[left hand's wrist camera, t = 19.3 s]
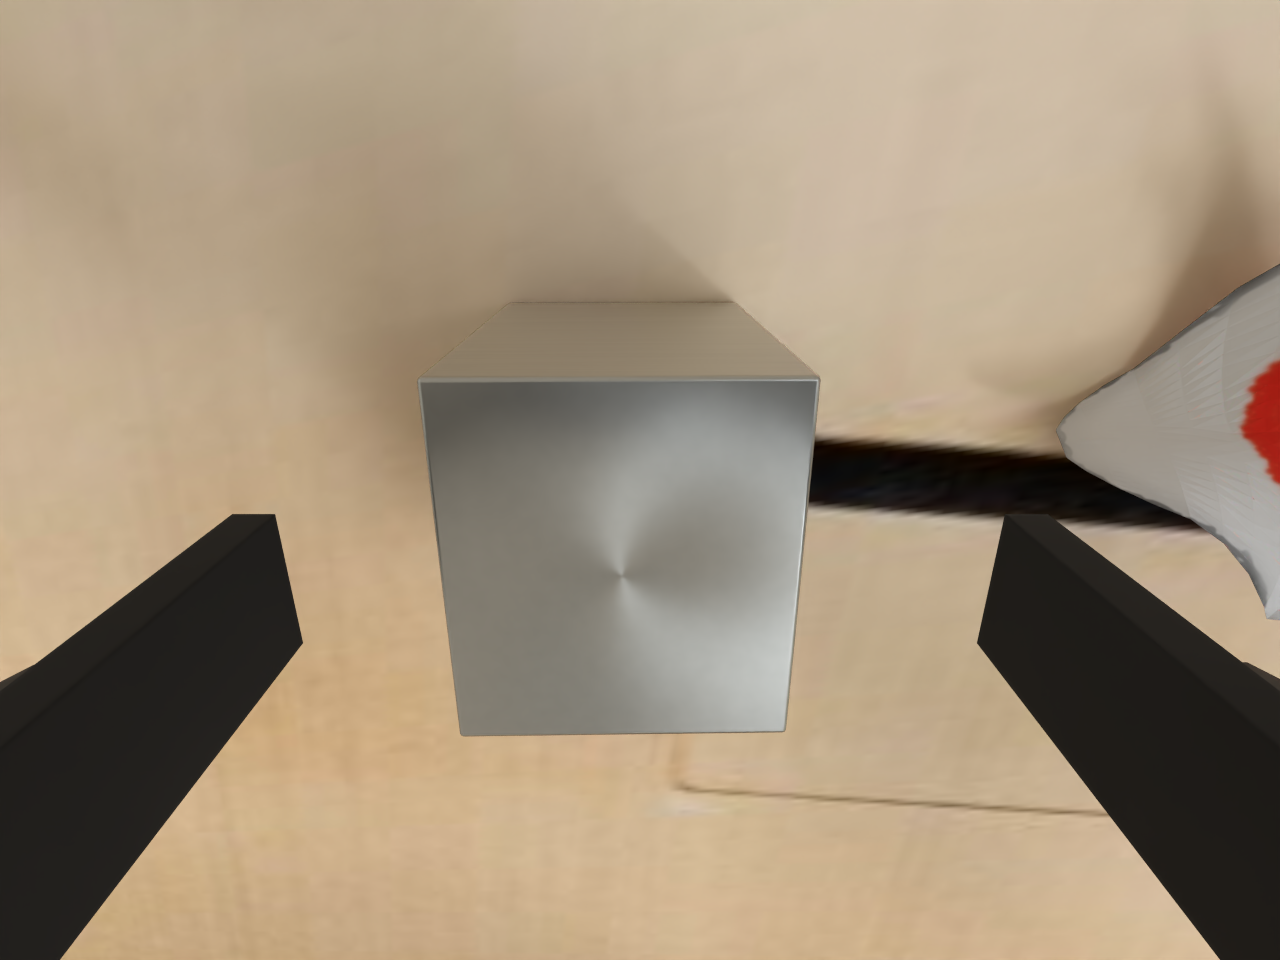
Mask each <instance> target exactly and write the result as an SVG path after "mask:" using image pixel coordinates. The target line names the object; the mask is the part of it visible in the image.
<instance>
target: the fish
mask: <svg viewBox="0 0 1280 960" xmlns="http://www.w3.org/2000/svg"><path fill="white" fill-rule="evenodd" d="M1056 432H1057V434H1058V437H1059V439H1060V442H1061V444H1062V447H1063V450H1064V452H1065V455H1066V457H1067V458H1068V459H1069V460H1071V461H1072V462H1074V463H1075V464H1077V465H1078V466H1080V467H1081V468H1083V469H1084V470H1086V471H1087V472H1089V473H1091V474H1093V475H1095V476H1097V477H1099V478H1101V479H1102V480H1104V481H1106V482H1108V483H1110V484H1112V485H1114V486H1116V487H1118V488H1120V489H1122V490H1124V491H1126V492H1129V493H1131V494H1133V495H1135V496H1137V497H1139V498H1141V499H1144V500H1146V501H1148V502H1150V503H1152V504H1155V505H1157V506H1160V507H1162V508H1165V509H1167V510H1169V511H1172V512H1174V513H1177V514H1179V515H1182V516H1184V517H1187V518H1189V519H1191V520H1193V521H1194V522H1195V523H1197V524H1198V525H1199V526H1201V527H1202V528H1204V529H1205V530H1206V531H1208V532H1209V533H1210V534H1212V535H1213V536H1214V537H1216V538H1217V539H1219V540H1220V541H1221V542H1223V543H1224V544H1225V545H1226V547H1227V548H1228V549H1229V550H1230V552H1231V553H1232V554H1233V555H1234V556H1235V558H1236V559H1237V560H1238V561H1239V563H1240V564H1241V565H1242V566H1243V567H1244V569H1245V570H1246V571H1247V572H1248V574H1249V575H1250V578H1251V580H1252V582H1253V584H1254V586H1255V588H1256V590H1257V593H1258V595H1259V597H1260V599H1261V601H1262V603H1263V606H1264V609H1265V613H1266V617H1267V619H1273V620H1280V264H1279V265H1277V266H1275V267H1273V268H1272V269H1270V270H1268V271H1266V272H1265V273H1263V274H1261V275H1259V276H1258V277H1256V278H1254V279H1252V280H1251V281H1249V282H1247V283H1245V284H1244V285H1242V286H1240V287H1238V288H1237V289H1236V290H1234V291H1233V292H1232V293H1231V294H1229V295H1228V296H1227V297H1225V298H1224V299H1223V300H1221V301H1220V302H1219V303H1218V304H1216V305H1215V306H1214V307H1212V308H1211V309H1210V310H1208V311H1207V312H1206V313H1205V314H1203V315H1202V316H1201V317H1199V318H1198V319H1197V320H1195V321H1194V322H1193V323H1192V324H1190V325H1189V326H1188V327H1186V328H1185V329H1184V330H1182V331H1181V332H1180V333H1179V334H1177V335H1176V336H1175V337H1173V338H1172V339H1171V340H1170V341H1168V342H1167V343H1166V344H1164V345H1163V346H1162V347H1161V348H1159V349H1158V350H1157V351H1156V352H1154V353H1153V354H1152V355H1150V356H1149V357H1148V358H1147V359H1145V360H1144V361H1143V362H1141V363H1140V364H1139V365H1138V366H1136V367H1135V368H1134V369H1132V370H1130V371H1128V372H1127V373H1125V374H1123V375H1121V376H1120V377H1118V378H1116V379H1114V380H1113V381H1111V382H1109V383H1107V384H1106V385H1104V386H1102V387H1101V388H1100V389H1098V390H1097V391H1095V392H1094V393H1093V394H1091V395H1090V396H1088V397H1087V398H1086V399H1084V400H1083V401H1081V402H1080V403H1079V404H1078V405H1077V406H1075V407H1074V408H1073V409H1072V410H1071V411H1070V412H1069V413H1068V414H1067V415H1066V416H1065V417H1064V418H1063V420H1062V421H1061V423H1060V424H1059V426H1058V427H1057V429H1056Z"/></svg>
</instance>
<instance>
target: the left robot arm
mask: <svg viewBox="0 0 1280 960" xmlns="http://www.w3.org/2000/svg"><path fill="white" fill-rule="evenodd" d="M302 644H303V641H302V636H301V632H300V627H299V623H298V618H297V613H296V609H295V604H294V599H293V595H292V590H291V586H290V581H289V576H288V572H287V567H286V563H285V558H284V553H283V549H282V544H281V540H280V535H279V530H278V526H277V521H276V517H275V514H232V515H231V516H229V517H228V518H227V519H225V520H224V521H223V522H222V523H220V524H219V525H218V526H216V527H215V528H214V529H212V530H211V531H210V532H208V533H207V534H206V535H204V536H203V537H202V538H201V539H199V540H198V541H197V542H195V543H194V544H193V545H191V546H190V547H189V548H187V549H186V550H185V551H183V552H182V553H181V554H179V555H178V556H177V557H176V558H174V559H173V560H172V561H170V562H169V563H168V564H166V565H165V566H164V567H162V568H161V569H160V570H158V571H157V572H156V573H155V574H153V575H152V576H151V577H149V578H148V579H147V580H145V581H144V582H143V583H141V584H140V585H139V586H137V587H136V588H135V589H134V590H132V591H131V592H130V593H128V594H127V595H126V596H124V597H123V598H122V599H120V600H119V601H118V602H116V603H115V604H114V605H113V606H111V607H110V608H109V609H107V610H106V611H105V612H103V613H102V614H101V615H99V616H98V617H97V618H95V619H94V620H93V621H91V622H90V623H89V624H88V625H86V626H85V627H84V628H82V629H81V630H80V631H78V632H77V633H76V634H74V635H73V636H72V637H70V638H69V639H68V640H67V641H65V642H64V643H63V644H61V645H60V646H59V647H57V648H56V649H55V650H53V651H52V652H51V653H49V654H48V655H47V656H46V657H44V658H43V659H42V660H40V661H39V662H38V663H36V664H35V665H33V666H31V667H29V668H27V669H25V670H23V671H21V672H19V673H17V674H15V675H13V676H11V677H9V678H7V679H5V680H3V681H1V682H0V960H60V959H61V958H62V956H63V955H64V954H65V952H66V951H67V950H68V948H69V947H70V946H71V945H72V943H73V942H74V941H75V939H76V938H77V937H78V935H79V934H80V933H81V932H82V930H83V929H84V928H85V926H86V925H87V924H88V922H89V921H90V920H91V919H92V917H93V916H94V915H95V913H96V912H97V911H98V909H99V908H100V907H101V906H102V904H103V903H104V902H105V900H106V899H107V898H108V896H109V895H110V894H111V892H112V891H113V890H114V889H115V887H116V886H117V885H118V883H119V882H120V881H121V879H122V878H123V877H124V876H125V874H126V873H127V872H128V870H129V869H130V868H131V866H132V865H133V864H134V863H135V861H136V860H137V859H138V857H139V856H140V855H141V853H142V852H143V851H144V849H145V848H146V847H147V846H148V844H149V843H150V842H151V840H152V839H153V838H154V836H155V835H156V834H157V833H158V831H159V830H160V829H161V827H162V826H163V825H164V823H165V822H166V821H167V820H168V818H169V817H170V816H171V814H172V813H173V812H174V810H175V809H176V808H177V806H178V805H179V804H180V803H181V801H182V800H183V799H184V797H185V796H186V795H187V793H188V792H189V791H190V790H191V788H192V787H193V786H194V784H195V783H196V782H197V780H198V779H199V778H200V777H201V775H202V774H203V773H204V771H205V770H206V769H207V767H208V766H209V765H210V763H211V762H212V761H213V760H214V758H215V757H216V756H217V754H218V753H219V752H220V750H221V749H222V748H223V747H224V745H225V744H226V743H227V741H228V740H229V739H230V737H231V736H232V735H233V734H234V732H235V731H236V730H237V728H238V727H239V726H240V724H241V723H242V722H243V721H244V719H245V718H246V717H247V715H248V714H249V713H250V711H251V710H252V709H253V707H254V706H255V705H256V704H257V702H258V701H259V700H260V698H261V697H262V696H263V694H264V693H265V692H266V691H267V689H268V688H269V687H270V685H271V684H272V683H273V681H274V680H275V679H276V678H277V676H278V675H279V674H280V672H281V671H282V670H283V668H284V667H285V666H286V664H287V663H288V662H289V661H290V659H291V658H292V657H293V655H294V654H295V653H296V651H297V650H298V649H299V648H300V646H301V645H302ZM977 644H978V645H979V646H980V648H981V649H982V650H983V651H984V653H985V654H986V655H987V657H988V658H989V659H990V661H991V662H992V663H993V664H994V666H995V667H996V668H997V670H998V671H999V672H1000V674H1001V675H1002V676H1003V678H1004V679H1005V680H1006V681H1007V683H1008V684H1009V685H1010V687H1011V688H1012V689H1013V691H1014V692H1015V693H1016V694H1017V696H1018V697H1019V698H1020V700H1021V701H1022V702H1023V704H1024V705H1025V706H1026V707H1027V709H1028V710H1029V711H1030V713H1031V714H1032V715H1033V717H1034V718H1035V719H1036V721H1037V722H1038V723H1039V724H1040V726H1041V727H1042V728H1043V730H1044V731H1045V732H1046V734H1047V735H1048V736H1049V737H1050V739H1051V740H1052V741H1053V743H1054V744H1055V745H1056V747H1057V748H1058V749H1059V750H1060V752H1061V753H1062V754H1063V756H1064V757H1065V758H1066V760H1067V761H1068V762H1069V763H1070V765H1071V766H1072V767H1073V769H1074V770H1075V771H1076V773H1077V774H1078V775H1079V777H1080V778H1081V779H1082V780H1083V782H1084V783H1085V784H1086V786H1087V787H1088V788H1089V790H1090V791H1091V792H1092V793H1093V795H1094V796H1095V797H1096V799H1097V800H1098V801H1099V803H1100V804H1101V805H1102V806H1103V808H1104V809H1105V810H1106V812H1107V813H1108V814H1109V816H1110V817H1111V818H1112V820H1113V821H1114V822H1115V823H1116V825H1117V826H1118V827H1119V829H1120V830H1121V831H1122V833H1123V834H1124V835H1125V836H1126V838H1127V839H1128V840H1129V842H1130V843H1131V844H1132V846H1133V847H1134V848H1135V849H1136V851H1137V852H1138V853H1139V855H1140V856H1141V857H1142V859H1143V860H1144V861H1145V863H1146V864H1147V865H1148V866H1149V868H1150V869H1151V870H1152V872H1153V873H1154V874H1155V876H1156V877H1157V878H1158V879H1159V881H1160V882H1161V883H1162V885H1163V886H1164V887H1165V889H1166V890H1167V891H1168V892H1169V894H1170V895H1171V896H1172V898H1173V899H1174V900H1175V902H1176V903H1177V904H1178V906H1179V907H1180V908H1181V909H1182V911H1183V912H1184V913H1185V915H1186V916H1187V917H1188V919H1189V920H1190V921H1191V922H1192V924H1193V925H1194V926H1195V928H1196V929H1197V930H1198V932H1199V933H1200V934H1201V935H1202V937H1203V938H1204V939H1205V941H1206V942H1207V943H1208V945H1209V946H1210V947H1211V948H1212V950H1213V951H1214V952H1215V954H1216V955H1217V956H1218V958H1219V959H1220V960H1280V679H1279V678H1277V677H1275V676H1273V675H1271V674H1269V673H1267V672H1265V671H1263V670H1261V669H1259V668H1257V667H1255V666H1253V665H1251V664H1249V663H1247V662H1241V661H1240V660H1238V659H1237V658H1236V657H1234V656H1233V655H1232V654H1231V653H1229V652H1228V651H1227V650H1225V649H1224V648H1223V647H1221V646H1220V645H1219V644H1217V643H1216V642H1215V641H1213V640H1212V639H1211V638H1210V637H1208V636H1207V635H1206V634H1204V633H1203V632H1202V631H1200V630H1199V629H1198V628H1196V627H1195V626H1194V625H1192V624H1191V623H1190V622H1189V621H1187V620H1186V619H1185V618H1183V617H1182V616H1181V615H1179V614H1178V613H1177V612H1175V611H1174V610H1173V609H1171V608H1170V607H1169V606H1167V605H1166V604H1165V603H1164V602H1162V601H1161V600H1160V599H1158V598H1157V597H1156V596H1154V595H1153V594H1152V593H1150V592H1149V591H1148V590H1146V589H1145V588H1144V587H1143V586H1141V585H1140V584H1139V583H1137V582H1136V581H1135V580H1133V579H1132V578H1131V577H1129V576H1128V575H1127V574H1125V573H1124V572H1123V571H1122V570H1120V569H1119V568H1118V567H1116V566H1115V565H1114V564H1112V563H1111V562H1110V561H1108V560H1107V559H1106V558H1104V557H1103V556H1102V555H1101V554H1099V553H1098V552H1097V551H1095V550H1094V549H1093V548H1091V547H1090V546H1089V545H1087V544H1086V543H1085V542H1083V541H1082V540H1081V539H1079V538H1078V537H1077V536H1076V535H1074V534H1073V533H1072V532H1070V531H1069V530H1068V529H1066V528H1065V527H1064V526H1062V525H1061V524H1060V523H1058V522H1057V521H1056V520H1055V519H1053V518H1052V517H1051V516H1049V515H1048V514H1005V517H1004V521H1003V526H1002V530H1001V535H1000V540H999V544H998V549H997V553H996V558H995V563H994V567H993V572H992V576H991V581H990V586H989V590H988V595H987V599H986V604H985V609H984V613H983V618H982V623H981V627H980V632H979V636H978V641H977Z"/></svg>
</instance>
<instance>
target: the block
mask: <svg viewBox="0 0 1280 960" xmlns="http://www.w3.org/2000/svg"><path fill="white" fill-rule="evenodd" d="M417 384H418V392H419V400H420V409H421V417H422V425H423V433H424V441H425V450H426V458H427V466H428V474H429V482H430V491H431V499H432V507H433V515H434V523H435V532H436V540H437V548H438V556H439V564H440V572H441V581H442V589H443V597H444V605H445V613H446V622H447V630H448V638H449V646H450V654H451V663H452V671H453V679H454V687H455V695H456V704H457V712H458V720H459V728H460V734H461V736H528V735H605V734H682V733H759V732H784V731H785V730H786V724H787V714H788V704H789V693H790V683H791V673H792V663H793V653H794V643H795V633H796V622H797V612H798V602H799V592H800V582H801V572H802V562H803V552H804V541H805V531H806V521H807V511H808V501H809V491H810V481H811V470H812V460H813V450H814V440H815V430H816V420H817V410H818V400H819V389H820V377H819V376H818V375H817V374H816V373H815V372H814V371H813V370H812V369H810V368H809V367H808V366H807V365H806V364H805V363H804V362H802V361H801V360H800V359H799V358H798V357H797V356H796V355H795V354H793V353H792V352H791V351H790V350H789V349H788V348H787V347H786V346H784V345H783V344H782V343H781V342H780V341H779V340H778V339H776V338H775V337H774V336H773V335H772V334H771V333H770V332H769V331H767V330H766V329H765V328H764V327H763V326H762V325H761V324H759V323H758V322H757V321H756V320H755V319H754V318H753V317H752V316H750V315H749V314H748V313H747V312H746V311H745V310H744V309H743V308H741V307H740V306H739V305H738V304H737V303H735V302H615V303H509V304H507V305H506V306H505V307H504V308H502V309H501V310H500V311H499V312H498V313H496V314H495V315H494V316H493V317H492V318H490V319H489V320H488V321H487V322H486V323H484V324H483V325H482V326H481V327H479V328H478V329H477V330H476V331H475V332H473V333H472V334H471V335H470V336H469V337H467V338H466V339H465V340H464V341H463V342H461V343H460V344H459V345H458V346H456V347H455V348H454V349H453V350H452V351H450V352H449V353H448V354H447V355H446V356H444V357H443V358H442V359H441V360H440V361H438V362H437V363H436V364H435V365H433V366H432V367H431V368H430V369H429V370H427V371H426V372H425V373H424V374H423V375H421V376H420V377H419V378H418V381H417Z"/></svg>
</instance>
